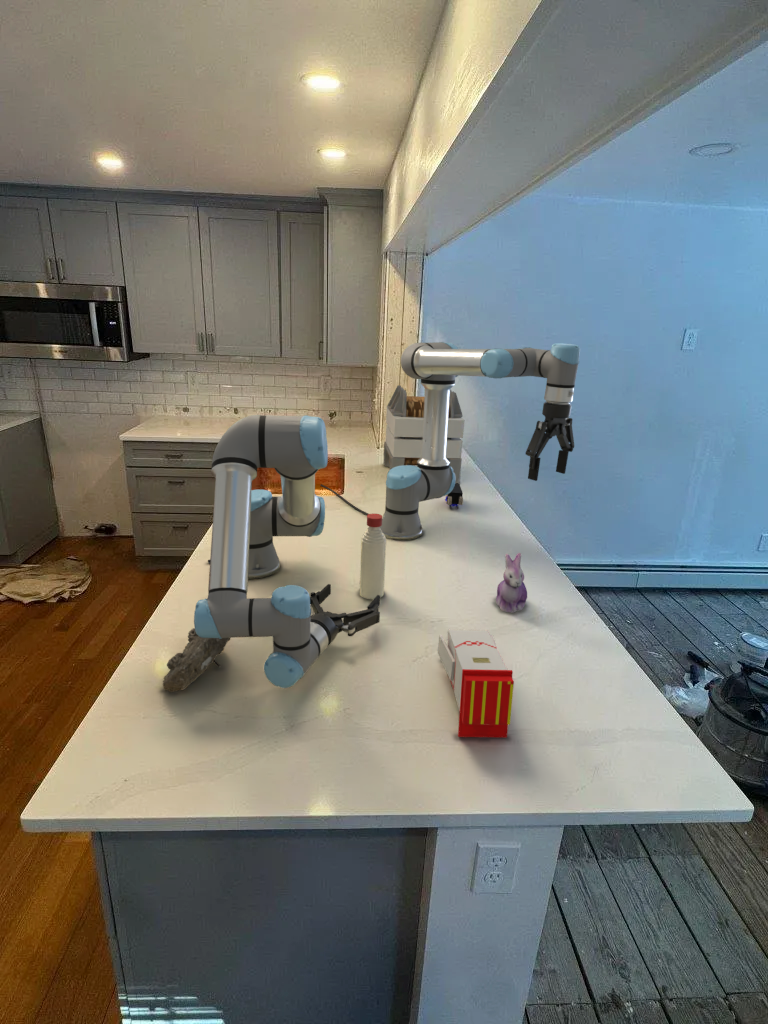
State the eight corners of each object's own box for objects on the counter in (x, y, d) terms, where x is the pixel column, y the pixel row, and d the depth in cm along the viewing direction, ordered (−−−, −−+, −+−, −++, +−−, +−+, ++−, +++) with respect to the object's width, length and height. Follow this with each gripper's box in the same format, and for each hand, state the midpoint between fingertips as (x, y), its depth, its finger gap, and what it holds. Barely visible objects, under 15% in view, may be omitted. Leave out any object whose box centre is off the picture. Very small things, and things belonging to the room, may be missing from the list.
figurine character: (463, 514, 226) (458, 498, 239) (465, 496, 223) (460, 481, 236) (446, 513, 226) (442, 497, 239) (448, 496, 222) (444, 481, 236)
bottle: (369, 585, 162) (371, 511, 154) (388, 592, 158) (392, 517, 151) (354, 594, 157) (356, 517, 149) (374, 601, 153) (377, 523, 145)
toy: (488, 613, 130) (523, 677, 101) (484, 667, 133) (517, 744, 104) (435, 612, 130) (455, 676, 101) (432, 666, 133) (451, 743, 103)
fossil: (186, 619, 132) (231, 589, 127) (214, 646, 135) (260, 618, 130) (141, 685, 113) (192, 653, 108) (176, 716, 116) (227, 686, 111)
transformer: (382, 463, 289) (386, 382, 275) (445, 464, 293) (451, 384, 279) (390, 482, 257) (394, 392, 243) (460, 483, 261) (468, 394, 247)
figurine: (509, 617, 148) (516, 565, 143) (485, 599, 156) (491, 550, 151) (537, 610, 152) (544, 559, 147) (512, 593, 161) (519, 544, 156)
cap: (372, 520, 153) (372, 512, 152) (385, 524, 151) (385, 515, 150) (363, 524, 150) (363, 516, 149) (376, 528, 148) (376, 519, 147)
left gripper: (265, 637, 130) (309, 597, 149) (366, 664, 122) (399, 618, 141) (265, 608, 127) (309, 571, 146) (367, 634, 119) (400, 591, 138)
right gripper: (542, 407, 146) (531, 486, 154) (594, 401, 162) (582, 472, 169) (518, 403, 152) (509, 479, 159) (571, 397, 167) (560, 466, 174)
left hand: (353, 594), depth 143 cm, fingers open, 13 cm apart
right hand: (546, 476), depth 164 cm, fingers open, 13 cm apart
